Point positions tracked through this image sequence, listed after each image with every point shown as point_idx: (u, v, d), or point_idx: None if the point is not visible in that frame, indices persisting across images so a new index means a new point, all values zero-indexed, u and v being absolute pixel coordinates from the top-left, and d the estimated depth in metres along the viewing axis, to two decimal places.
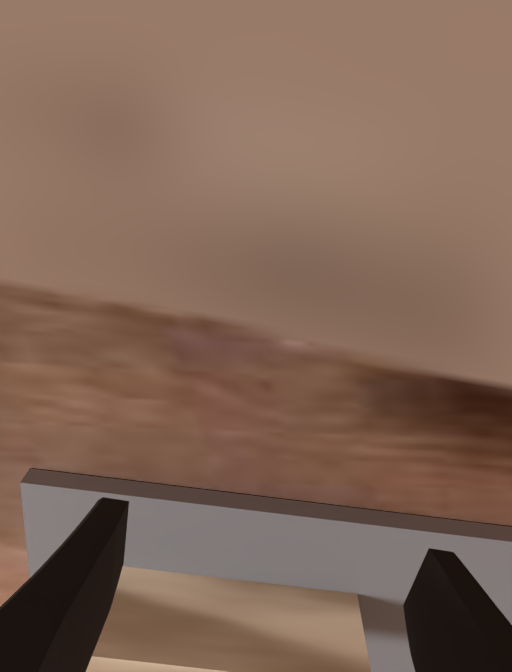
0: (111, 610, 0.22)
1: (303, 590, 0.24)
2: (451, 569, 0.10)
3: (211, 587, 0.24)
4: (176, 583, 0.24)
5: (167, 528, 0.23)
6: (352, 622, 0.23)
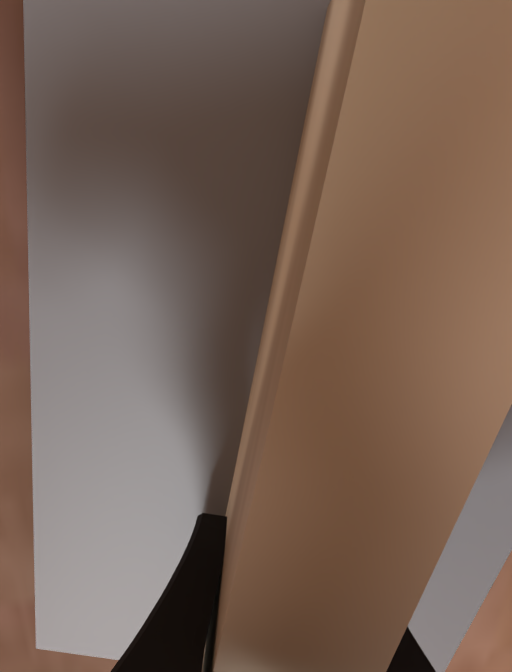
0: (206, 644, 0.10)
1: (291, 192, 0.08)
2: None
3: (245, 423, 0.10)
4: (232, 488, 0.11)
5: (106, 474, 0.11)
6: (331, 26, 0.06)
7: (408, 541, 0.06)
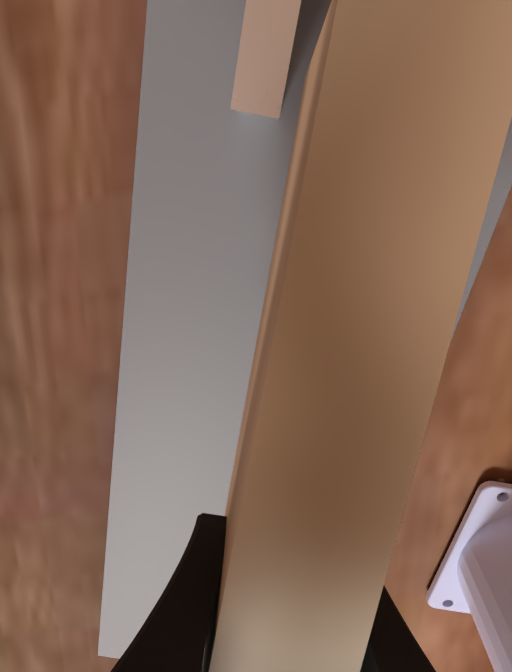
0: (207, 637, 0.10)
1: (281, 210, 0.11)
2: None
3: (244, 413, 0.11)
4: (231, 482, 0.12)
5: (141, 570, 0.23)
6: (309, 79, 0.09)
7: (389, 450, 0.07)
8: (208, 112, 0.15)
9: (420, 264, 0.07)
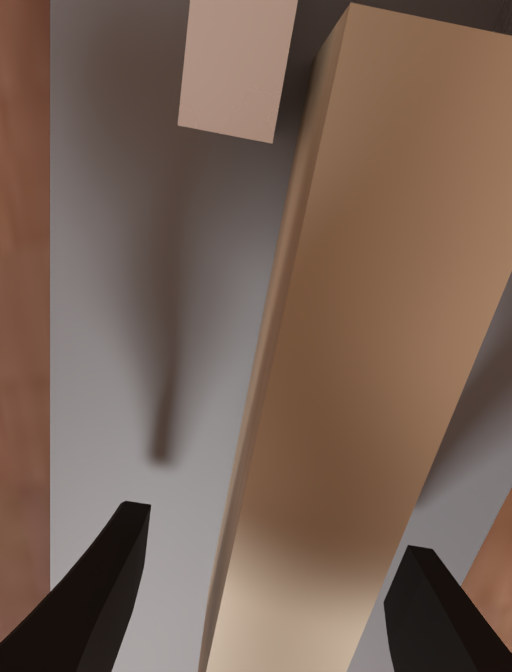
0: (208, 618, 0.11)
1: (282, 216, 0.10)
2: (428, 566, 0.10)
3: (243, 419, 0.11)
4: (231, 479, 0.12)
5: None
6: (314, 84, 0.07)
7: (378, 516, 0.07)
8: (161, 125, 0.09)
9: (421, 350, 0.06)
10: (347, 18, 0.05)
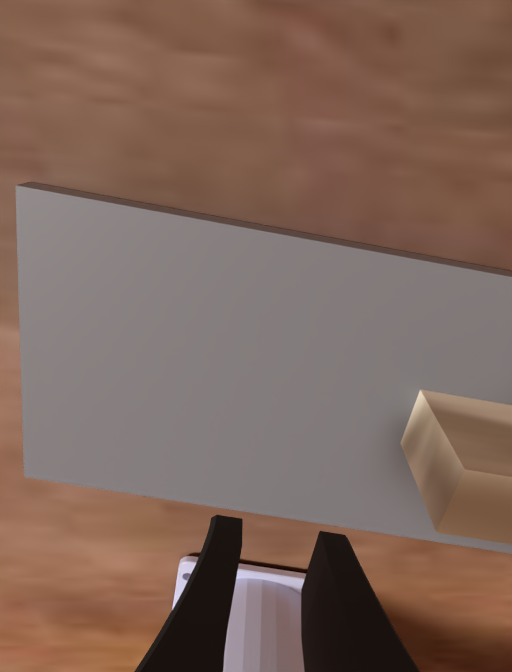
0: (499, 436, 0.16)
1: None
2: (334, 551, 0.10)
3: None
4: None
5: (223, 276, 0.16)
6: None
7: None
8: None
9: None
10: None
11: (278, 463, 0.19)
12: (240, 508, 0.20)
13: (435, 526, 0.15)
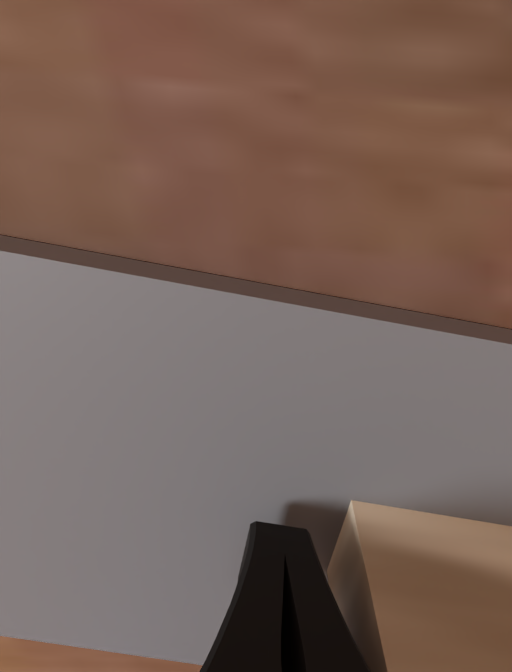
0: (465, 601, 0.10)
1: None
2: (293, 545, 0.10)
3: None
4: None
5: (27, 335, 0.10)
6: None
7: None
8: None
9: None
10: None
11: (153, 594, 0.13)
12: (107, 648, 0.14)
13: None
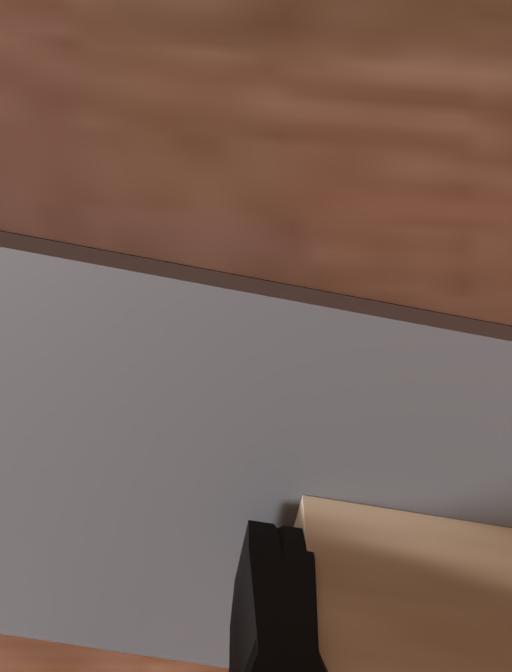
0: (408, 596, 0.10)
1: None
2: (258, 539, 0.10)
3: None
4: (501, 544, 0.11)
5: None
6: None
7: None
8: None
9: None
10: None
11: None
12: None
13: None
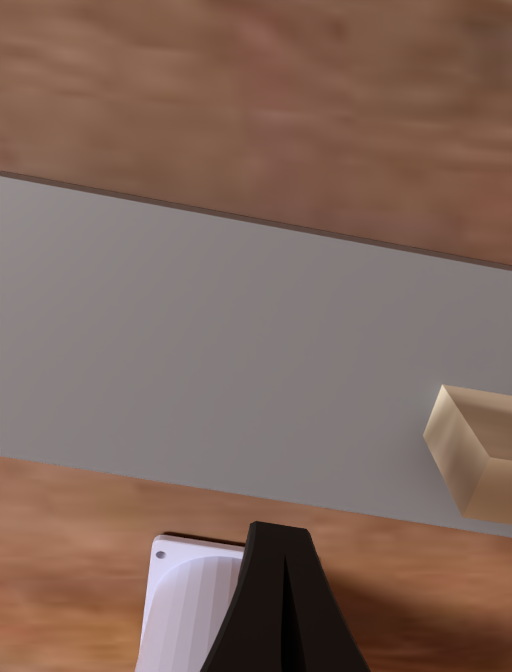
0: None
1: None
2: (293, 545, 0.10)
3: None
4: None
5: (184, 261, 0.17)
6: None
7: None
8: None
9: None
10: None
11: (243, 442, 0.20)
12: (208, 486, 0.21)
13: (461, 511, 0.16)
